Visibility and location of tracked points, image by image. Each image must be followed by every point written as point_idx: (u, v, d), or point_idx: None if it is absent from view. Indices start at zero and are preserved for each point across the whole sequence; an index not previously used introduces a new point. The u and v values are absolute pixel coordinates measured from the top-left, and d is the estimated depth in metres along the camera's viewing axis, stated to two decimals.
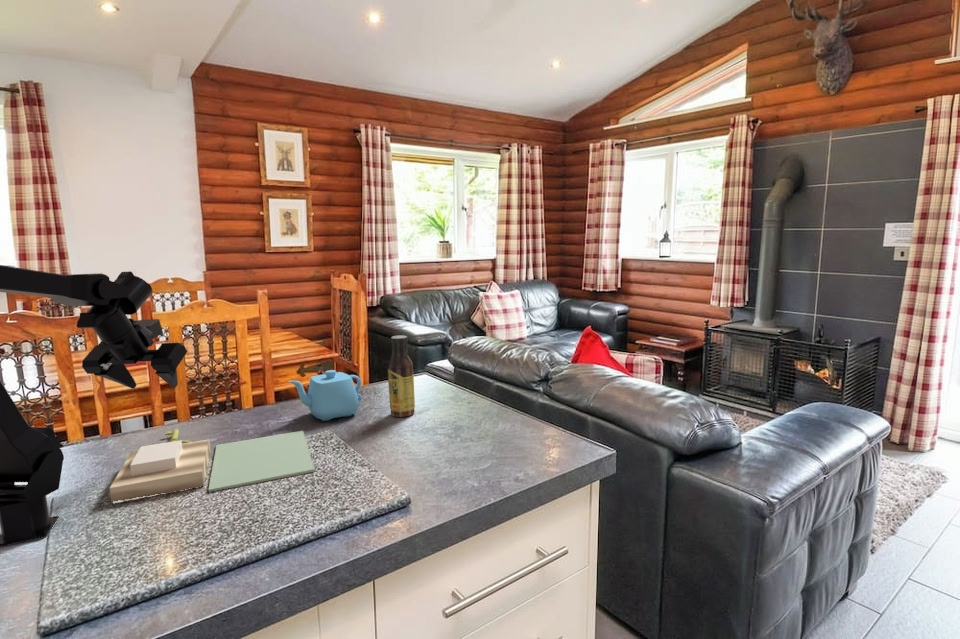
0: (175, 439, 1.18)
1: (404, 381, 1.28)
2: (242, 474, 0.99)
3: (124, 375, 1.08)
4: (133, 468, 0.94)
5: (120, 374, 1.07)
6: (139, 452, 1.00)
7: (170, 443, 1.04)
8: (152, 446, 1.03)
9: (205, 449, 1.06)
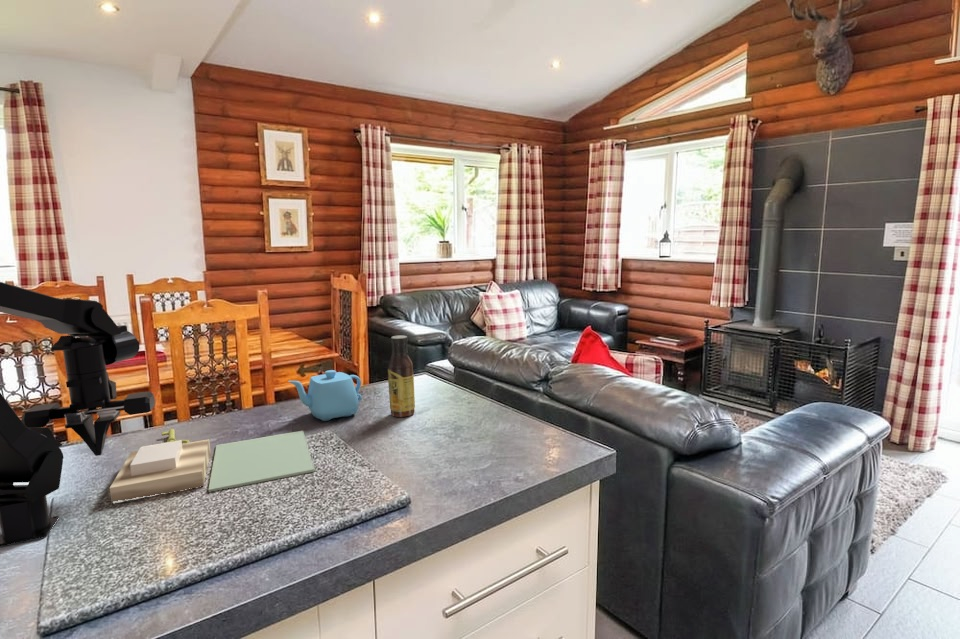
0: (173, 439, 1.18)
1: (404, 381, 1.28)
2: (242, 474, 0.99)
3: (92, 436, 0.95)
4: (133, 468, 0.94)
5: (91, 432, 0.95)
6: (139, 452, 1.00)
7: (170, 443, 1.04)
8: (152, 446, 1.03)
9: (205, 449, 1.06)
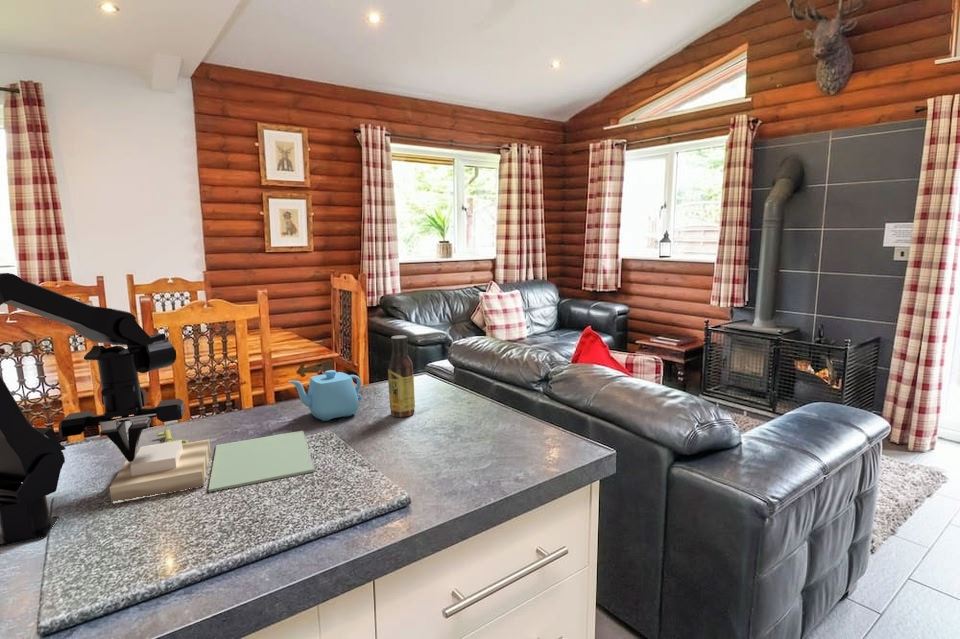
0: (171, 439, 1.18)
1: (404, 381, 1.28)
2: (242, 474, 0.99)
3: (125, 443, 0.98)
4: (133, 468, 0.94)
5: (124, 439, 0.97)
6: (139, 452, 1.00)
7: (170, 443, 1.04)
8: (152, 446, 1.03)
9: (205, 449, 1.06)
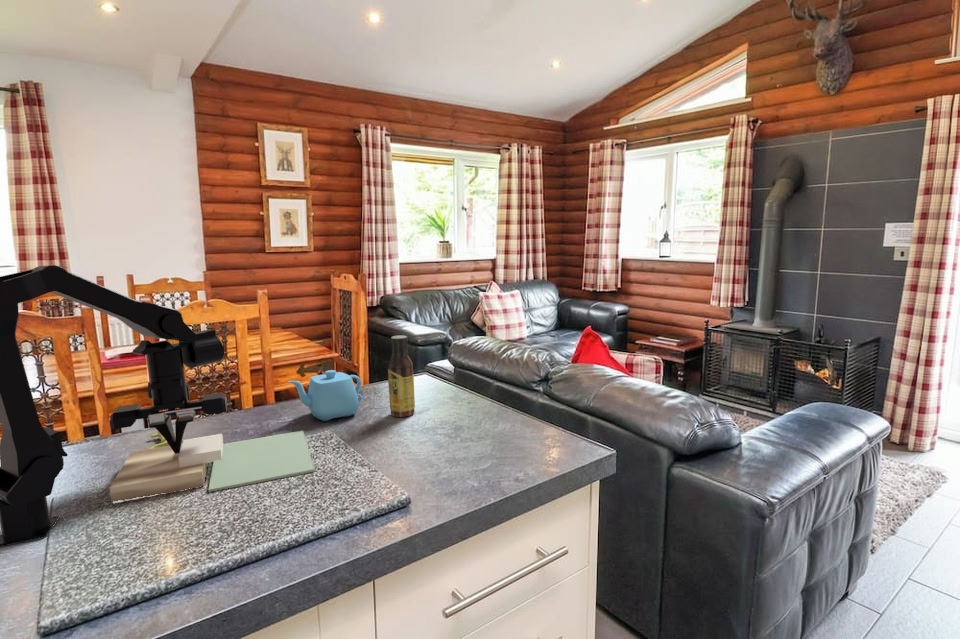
0: None
1: (404, 381, 1.28)
2: (242, 474, 0.99)
3: (172, 435, 1.01)
4: (181, 459, 0.97)
5: (171, 431, 1.00)
6: (183, 445, 1.03)
7: (212, 437, 1.07)
8: (195, 439, 1.06)
9: None
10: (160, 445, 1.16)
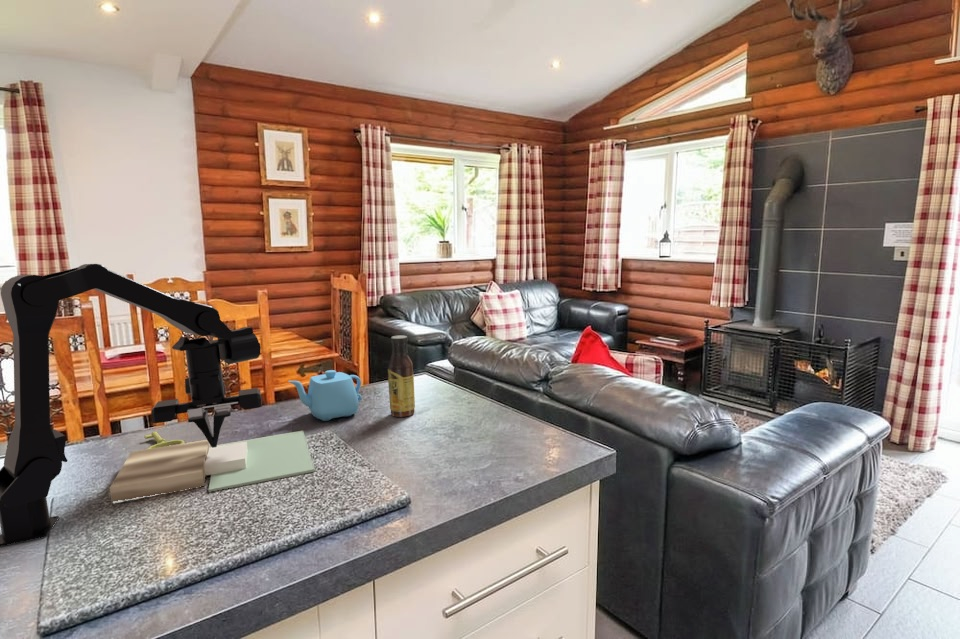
0: (164, 440, 1.18)
1: (404, 381, 1.28)
2: (242, 474, 0.99)
3: (209, 429, 1.03)
4: (207, 468, 0.99)
5: (209, 426, 1.03)
6: (209, 453, 1.05)
7: (237, 444, 1.09)
8: (220, 447, 1.08)
9: (205, 449, 1.06)
10: (157, 445, 1.16)
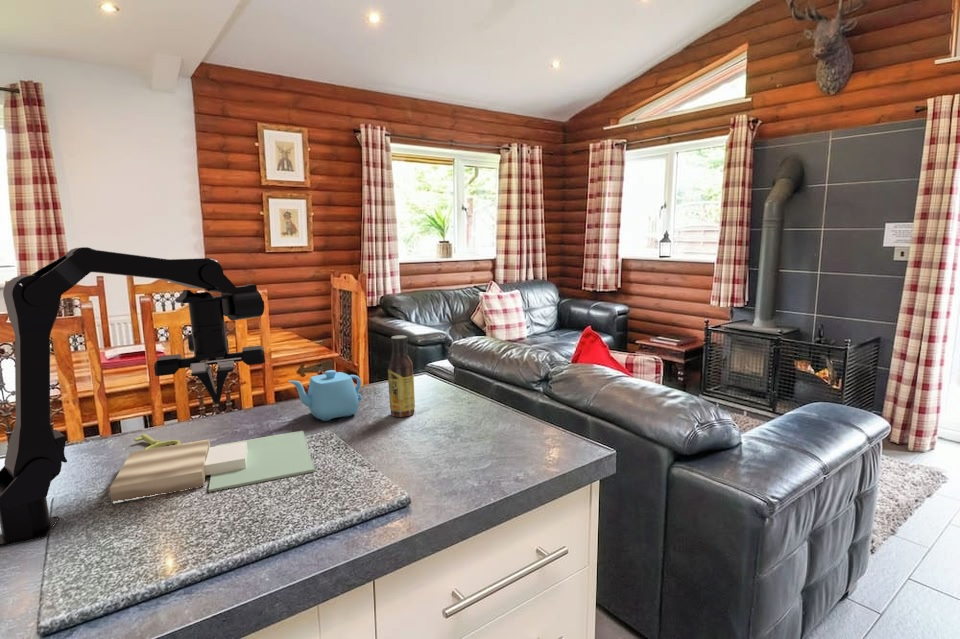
0: (158, 441, 1.17)
1: (404, 381, 1.28)
2: (242, 474, 0.99)
3: (212, 385, 1.02)
4: (207, 468, 0.99)
5: (212, 381, 1.02)
6: (209, 453, 1.05)
7: (237, 444, 1.09)
8: (220, 447, 1.08)
9: (205, 449, 1.06)
10: (153, 446, 1.15)
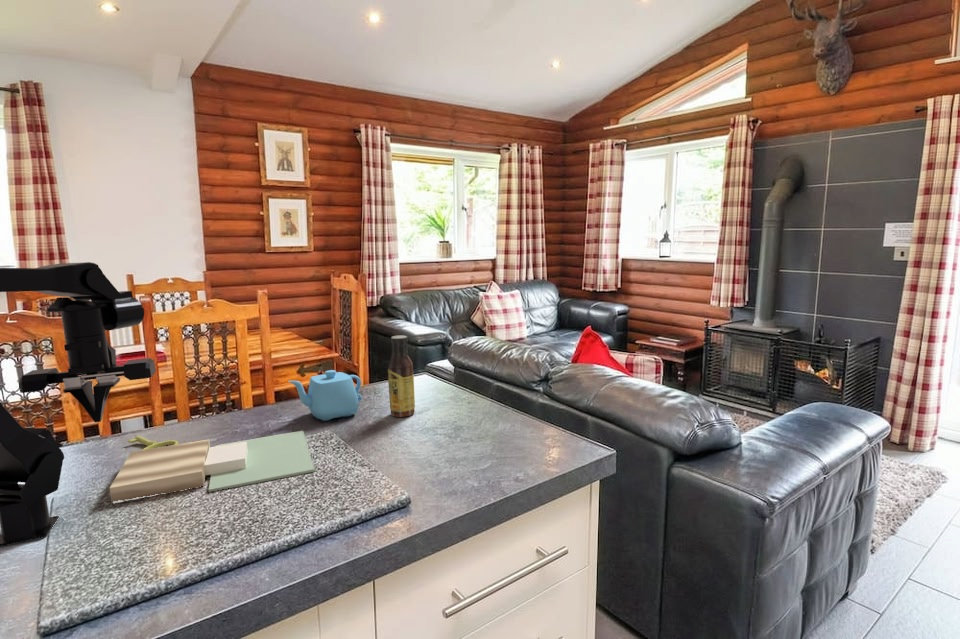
0: (154, 442, 1.17)
1: (404, 381, 1.28)
2: (242, 474, 0.99)
3: (92, 402, 0.93)
4: (207, 468, 0.99)
5: (90, 398, 0.93)
6: (209, 453, 1.05)
7: (237, 444, 1.09)
8: (220, 447, 1.08)
9: (205, 449, 1.06)
10: (150, 447, 1.15)
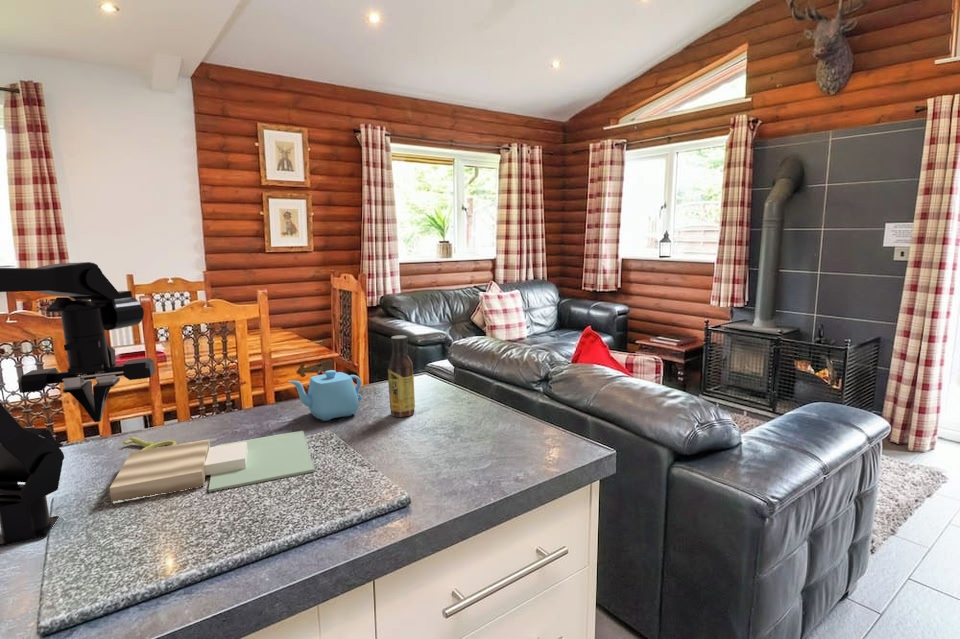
0: (152, 442, 1.17)
1: (404, 381, 1.28)
2: (242, 474, 0.99)
3: (91, 402, 0.93)
4: (207, 468, 0.99)
5: (90, 398, 0.93)
6: (209, 453, 1.05)
7: (237, 444, 1.09)
8: (220, 447, 1.08)
9: (205, 449, 1.06)
10: (148, 448, 1.15)
